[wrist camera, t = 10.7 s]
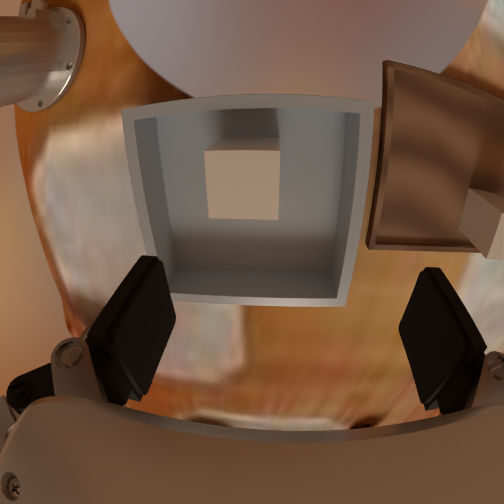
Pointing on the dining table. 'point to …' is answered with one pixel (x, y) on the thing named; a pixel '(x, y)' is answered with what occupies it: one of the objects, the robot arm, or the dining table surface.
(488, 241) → the stone
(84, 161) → the dining table surface
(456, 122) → the walnut tray
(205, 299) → the tub
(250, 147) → the beige block
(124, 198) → the dining table surface
